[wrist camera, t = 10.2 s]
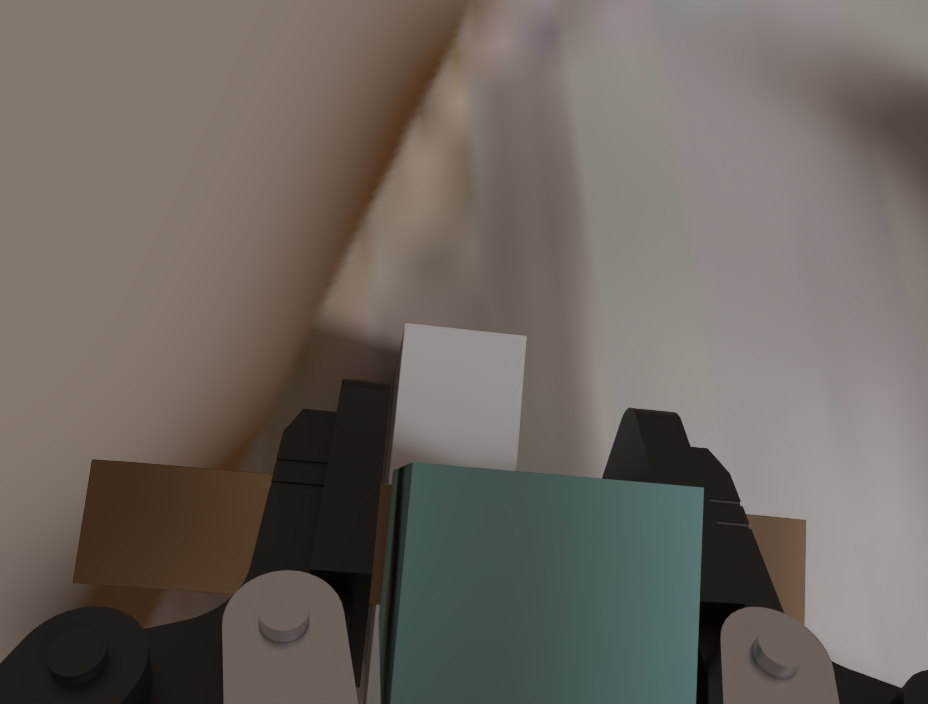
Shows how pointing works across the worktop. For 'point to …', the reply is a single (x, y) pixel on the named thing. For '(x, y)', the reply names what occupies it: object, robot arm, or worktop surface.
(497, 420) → the block
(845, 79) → the worktop surface
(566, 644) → the beam
